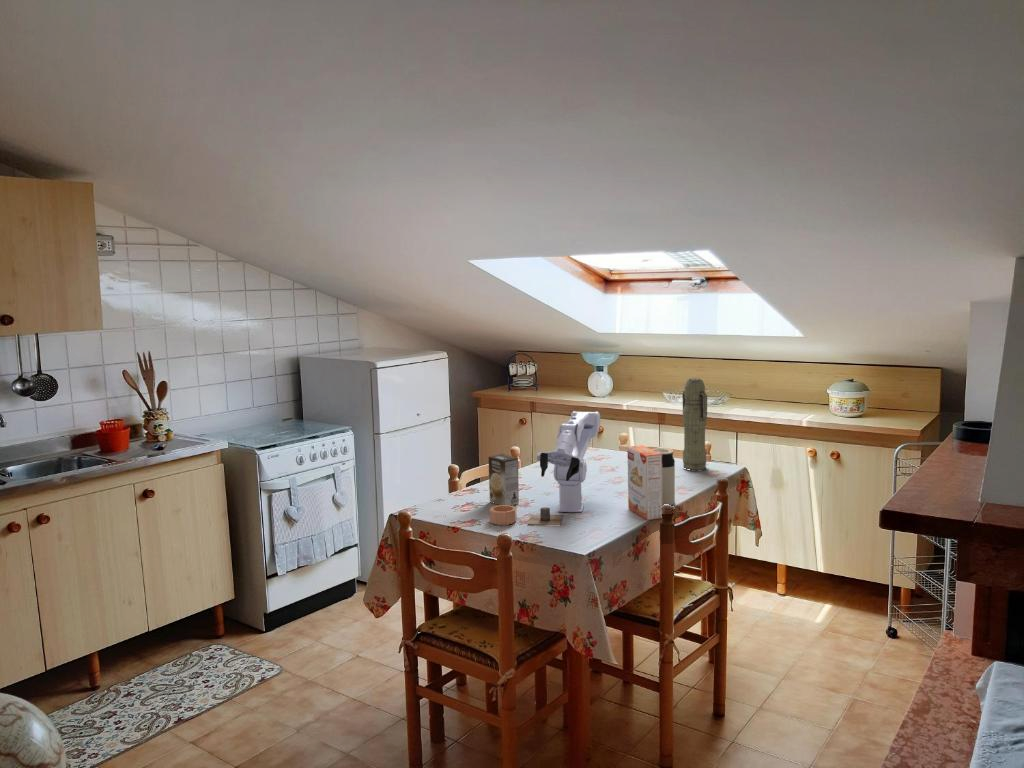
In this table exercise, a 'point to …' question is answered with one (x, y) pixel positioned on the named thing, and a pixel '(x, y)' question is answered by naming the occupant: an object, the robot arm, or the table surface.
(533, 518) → the walnut lid
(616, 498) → the table surface
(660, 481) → the cracker box
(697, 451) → the thermos
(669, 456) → the travel mug
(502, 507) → the terracotta bowl
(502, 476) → the coffee box
